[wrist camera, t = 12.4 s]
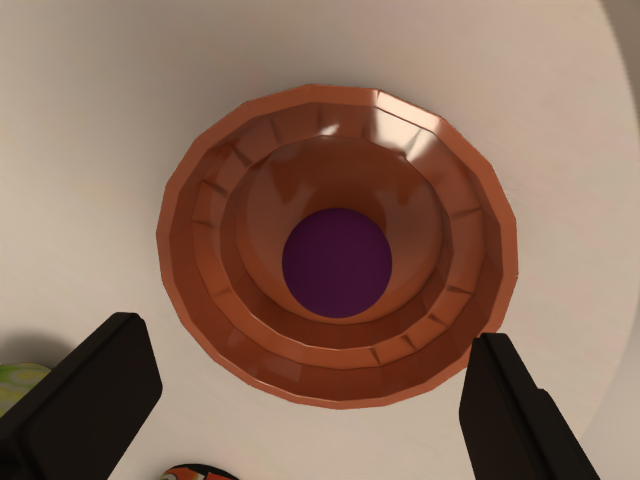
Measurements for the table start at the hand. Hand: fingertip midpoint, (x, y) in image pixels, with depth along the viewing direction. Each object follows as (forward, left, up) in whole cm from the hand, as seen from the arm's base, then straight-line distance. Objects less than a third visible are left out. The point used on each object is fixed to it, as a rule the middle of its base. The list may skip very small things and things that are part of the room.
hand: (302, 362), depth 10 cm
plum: (0, 0, -10) cm, 10 cm away
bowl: (0, 0, -10) cm, 10 cm away
